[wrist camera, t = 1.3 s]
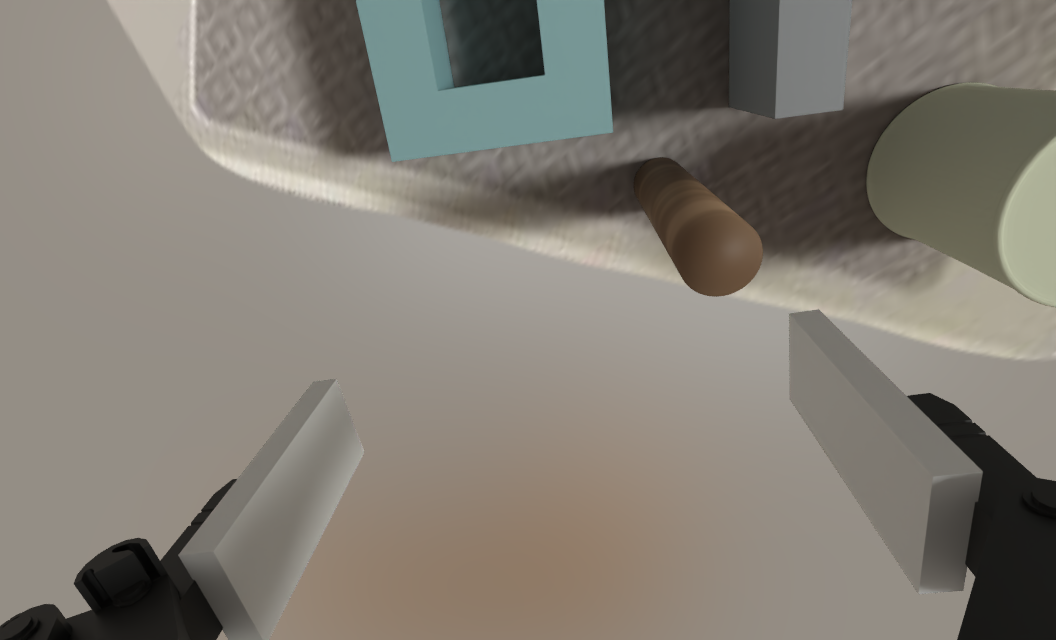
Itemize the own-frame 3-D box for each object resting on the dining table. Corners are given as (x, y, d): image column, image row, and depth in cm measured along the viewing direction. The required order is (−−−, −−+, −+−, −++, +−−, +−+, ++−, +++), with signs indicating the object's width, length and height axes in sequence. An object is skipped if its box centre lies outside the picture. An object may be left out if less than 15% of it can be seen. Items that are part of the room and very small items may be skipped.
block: (366, -79, 31) (332, -104, 26) (588, -119, 30) (593, -152, 25) (413, 149, 36) (391, 161, 31) (606, 123, 34) (613, 132, 30)
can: (865, 252, 37) (993, 333, 26) (864, 104, 33) (1013, 124, 22) (1021, 222, 35) (1226, 292, 24) (1038, 64, 32) (1288, 64, 21)
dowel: (632, 160, 35) (676, 222, 21) (684, 154, 35) (764, 212, 21) (635, 211, 36) (678, 300, 23) (686, 205, 36) (761, 292, 22)
